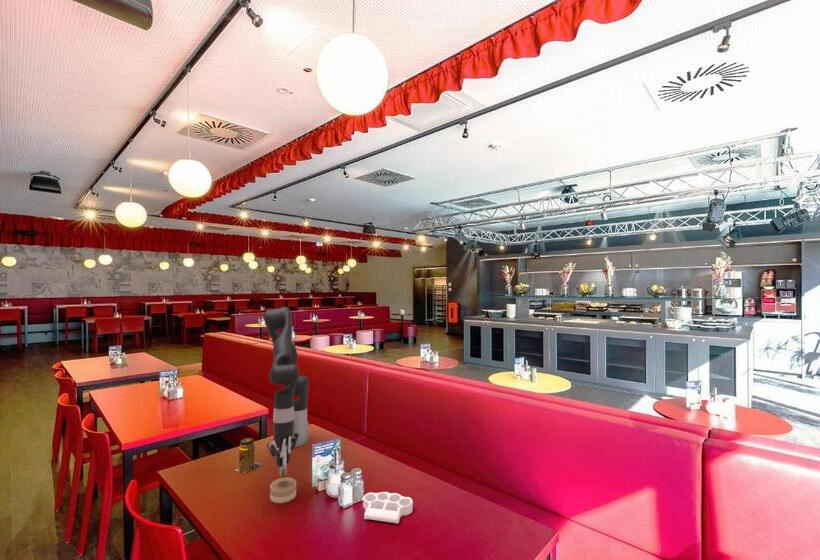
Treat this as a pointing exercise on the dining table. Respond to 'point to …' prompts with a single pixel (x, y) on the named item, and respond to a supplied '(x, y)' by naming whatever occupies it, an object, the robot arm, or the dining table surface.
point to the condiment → (247, 455)
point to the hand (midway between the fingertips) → (283, 464)
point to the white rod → (284, 462)
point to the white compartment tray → (386, 506)
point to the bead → (283, 490)
